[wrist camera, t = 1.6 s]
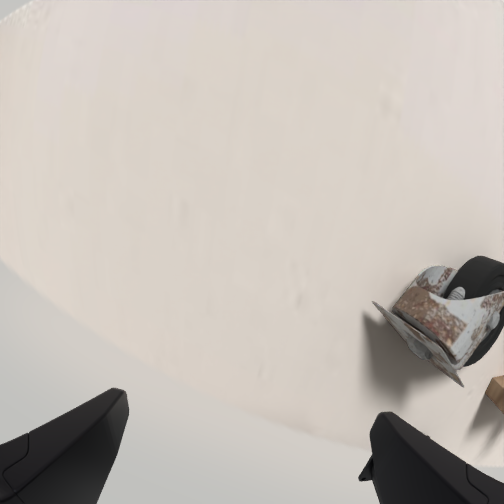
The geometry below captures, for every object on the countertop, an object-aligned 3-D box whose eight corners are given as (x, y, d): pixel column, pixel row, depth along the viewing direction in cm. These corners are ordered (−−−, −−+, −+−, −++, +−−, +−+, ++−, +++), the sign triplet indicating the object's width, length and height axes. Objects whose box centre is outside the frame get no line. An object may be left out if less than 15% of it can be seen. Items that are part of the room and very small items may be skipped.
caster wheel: (483, 286, 22) (421, 371, 22) (446, 198, 18) (364, 306, 19) (535, 311, 16) (469, 411, 16) (521, 214, 12) (433, 356, 12)
